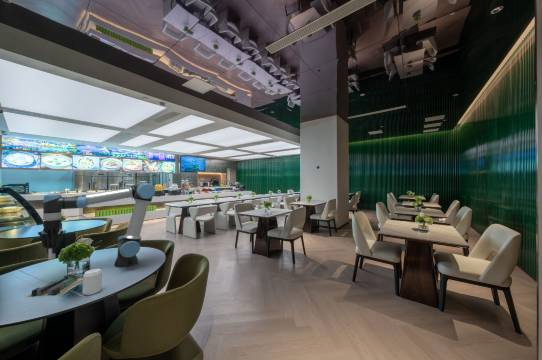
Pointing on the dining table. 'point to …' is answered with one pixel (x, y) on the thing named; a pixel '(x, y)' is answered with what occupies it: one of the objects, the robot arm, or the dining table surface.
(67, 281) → the teal-banded grey bar
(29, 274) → the dining table surface
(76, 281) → the board
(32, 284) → the dining table surface
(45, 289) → the tongs arm
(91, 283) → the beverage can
